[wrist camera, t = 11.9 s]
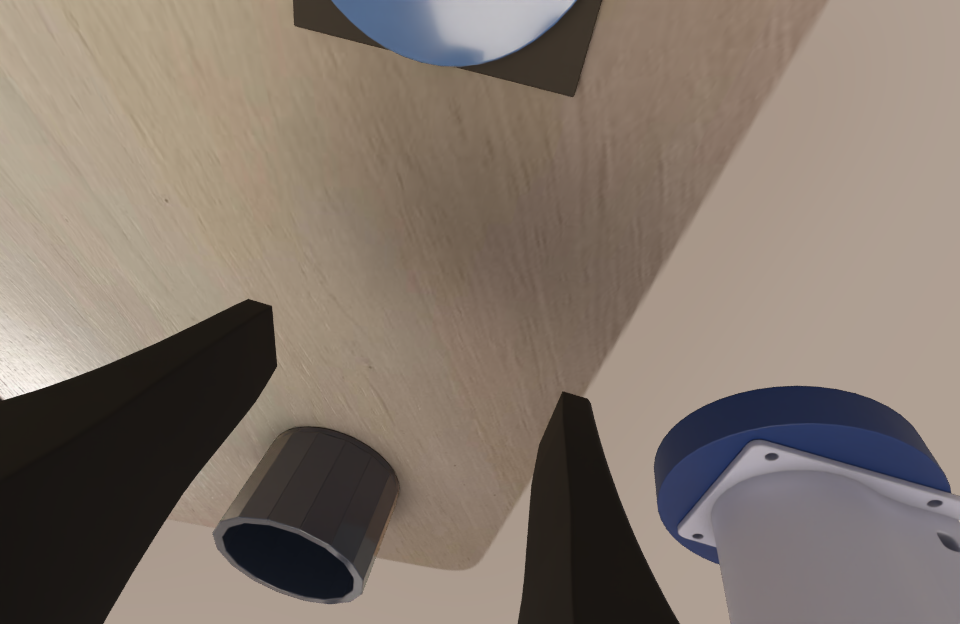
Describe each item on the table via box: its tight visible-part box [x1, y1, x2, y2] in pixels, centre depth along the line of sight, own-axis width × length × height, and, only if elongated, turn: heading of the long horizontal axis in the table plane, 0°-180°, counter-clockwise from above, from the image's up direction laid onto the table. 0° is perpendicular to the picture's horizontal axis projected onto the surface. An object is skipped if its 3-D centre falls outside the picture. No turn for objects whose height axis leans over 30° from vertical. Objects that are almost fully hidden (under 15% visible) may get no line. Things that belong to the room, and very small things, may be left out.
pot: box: [213, 427, 399, 604], centre depth 31 cm, size 9×9×6 cm
